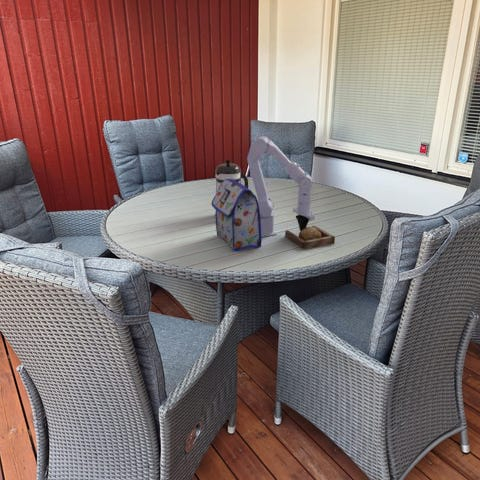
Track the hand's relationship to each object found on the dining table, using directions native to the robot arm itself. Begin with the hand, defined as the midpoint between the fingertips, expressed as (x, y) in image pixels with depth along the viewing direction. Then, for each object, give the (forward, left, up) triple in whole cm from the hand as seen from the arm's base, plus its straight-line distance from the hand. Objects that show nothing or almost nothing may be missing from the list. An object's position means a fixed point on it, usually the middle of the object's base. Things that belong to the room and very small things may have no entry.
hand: (302, 230), depth 182 cm
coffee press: (-19, +40, -3) cm, 44 cm away
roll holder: (0, -6, -2) cm, 6 cm away
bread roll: (0, -6, -3) cm, 6 cm away
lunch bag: (-30, +7, -3) cm, 31 cm away
